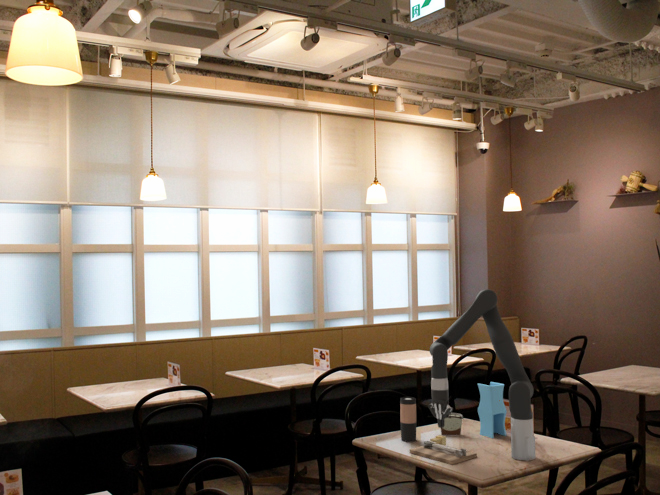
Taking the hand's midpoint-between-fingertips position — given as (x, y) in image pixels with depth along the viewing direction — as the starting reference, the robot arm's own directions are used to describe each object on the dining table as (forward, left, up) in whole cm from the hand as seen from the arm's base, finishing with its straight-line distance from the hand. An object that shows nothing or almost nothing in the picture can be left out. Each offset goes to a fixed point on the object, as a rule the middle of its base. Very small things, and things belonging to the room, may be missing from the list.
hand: (441, 427), depth 290 cm
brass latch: (+6, -5, -10) cm, 13 cm away
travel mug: (+27, -8, -12) cm, 31 cm away
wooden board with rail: (-1, 0, -12) cm, 12 cm away
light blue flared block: (+6, -46, -12) cm, 48 cm away
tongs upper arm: (-1, 0, -9) cm, 9 cm away
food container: (+21, -32, -12) cm, 41 cm away
